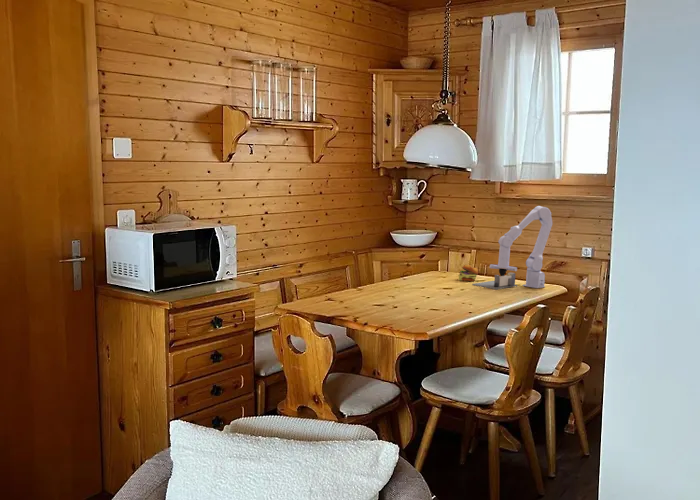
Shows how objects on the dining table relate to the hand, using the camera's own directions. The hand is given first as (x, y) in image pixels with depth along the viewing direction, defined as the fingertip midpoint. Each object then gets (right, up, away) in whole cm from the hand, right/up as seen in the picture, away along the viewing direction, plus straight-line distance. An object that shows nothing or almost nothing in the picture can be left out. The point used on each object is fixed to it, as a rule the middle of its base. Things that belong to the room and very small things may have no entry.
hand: (502, 282), depth 382 cm
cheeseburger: (-16, 0, +15) cm, 22 cm away
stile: (+5, -1, 0) cm, 5 cm away
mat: (-4, -2, +1) cm, 4 cm away
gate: (0, -1, -3) cm, 3 cm away
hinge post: (-5, -3, -7) cm, 9 cm away
